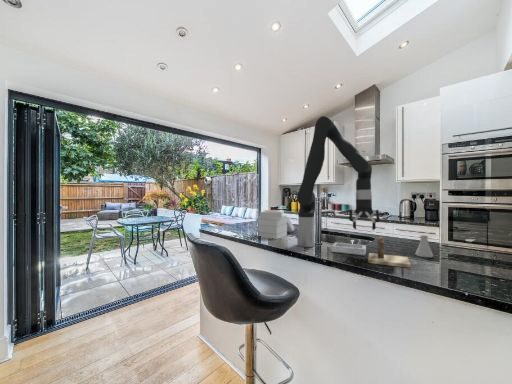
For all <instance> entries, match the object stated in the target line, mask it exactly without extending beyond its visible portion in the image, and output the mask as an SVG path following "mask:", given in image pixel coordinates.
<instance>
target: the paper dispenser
mask: <svg viewBox="0 0 512 384" xmlns="http://www.w3.org/2000/svg"><path fill="white" fill-rule="evenodd" d="M257 217H258V237H259V236H261V237H260V238H264V237H267V238H266V239H272V238H273V239H274V240H278V238H279V239H281V238H284V237H287V236H288V231H289V232H294V231H295V226H294V225H293V223H292V221H291V219H290V218H289V217H288V215H287V214H285V210H284V209H278V210H277V209H263V210H261V211H260V212H259V215H258V216H257ZM273 239H272V240H273Z"/></svg>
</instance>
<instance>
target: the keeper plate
mask: <svg viewBox="0 0 512 384" xmlns="http://www.w3.org/2000/svg"><path fill="white" fill-rule="evenodd" d="M376 239H377V240H376V241H377V253H373V252H372V253H371V252H369V253H368V260H367V261H368V262H367V263H368V264H374V265H375V264H376V265H381V266H383V265H385V266H390V267H391V266H392V267H400V268H407V269H410V268H411V263H410V260H409V257H408V256H401V255H391V254H385V239H384V237H383V236H379V237H377V238H376Z"/></svg>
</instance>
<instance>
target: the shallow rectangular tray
mask: <svg viewBox="0 0 512 384" xmlns="http://www.w3.org/2000/svg"><path fill="white" fill-rule="evenodd" d="M331 252H332V253H340V254H347V255H357V256H366V253H367V245H366V244H357V243H356V244H355V243H345V242H333V244H332V245H331Z"/></svg>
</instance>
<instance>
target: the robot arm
mask: <svg viewBox="0 0 512 384" xmlns="http://www.w3.org/2000/svg"><path fill="white" fill-rule="evenodd" d="M313 131H314V132H313V137H312V141H311V145H310V149H309V152H308V156H307V160H306V164H305V168H304V173H303V177H302V181H301V184H300V187H299V189H298V192H297V196H296V200H297V202H298V204H299V210H298V215H297V216H298V222H297V223H298V229H297V230H296V231H297V246H298V247H303V248H312V247H315V243H316V241H315V212H316V195H315V193H314V187H315V184H316V182H317V179H318V178H319V176H320V174H321V171H322V169H323V167H324V166H323V165H324V161H325V158H326V157H325V155H326V148H325V147H326V141H327V138H328V140H330V141H331V142H332V144H334V146H335V147H336V148H337V150H338V151H339V153H340V154H341V155H342V156H343V157H344V158H345V160H347V161H348V162H349V163H348V164H349V165H351V167H352V168H353V170H354V171H355V172H356V173H357V179H356V181H355V190H356V191H355V209H351V208H350V209H349V213H348V214H349V215H348V217H349V218H348V220H349V221H350V222H352V228H353V230H356V229H357V221H358V219H359V218H360V219H362V218H363V219H369V220H370V221H371V222H372V231H375V230H376V223H379V222H380V211H379V209H373V207H372V205H373V203H372V202H373V201H372V199H373V198H372V197H373V196H372V195H373V194H372V193H373V192H372V183H371V182H372V181H371V179H372V173H373V171H372V169H373V167H372V164H371V162H370V161H369V160H367V159H365V158H364V157H363V156H362V155H361V154H360V152H359V150H358V149H357V148H356V147H355V146H354V145H353V144H352V143H351V142H350V141H349V139H347V138H345V137H344V135H343V134H342V133H341V132H340V131H339V128H338V127H337V126H336V124H335V123H334V121H333V119H331V118H330V117H328V116H326V115H323V116H320V117H319V118H317V120H316V122H315V125H314V130H313ZM354 213H355V214H356V215H355V218H353V214H354ZM372 214H374V215H376V219H374V217H373V216H372Z"/></svg>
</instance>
